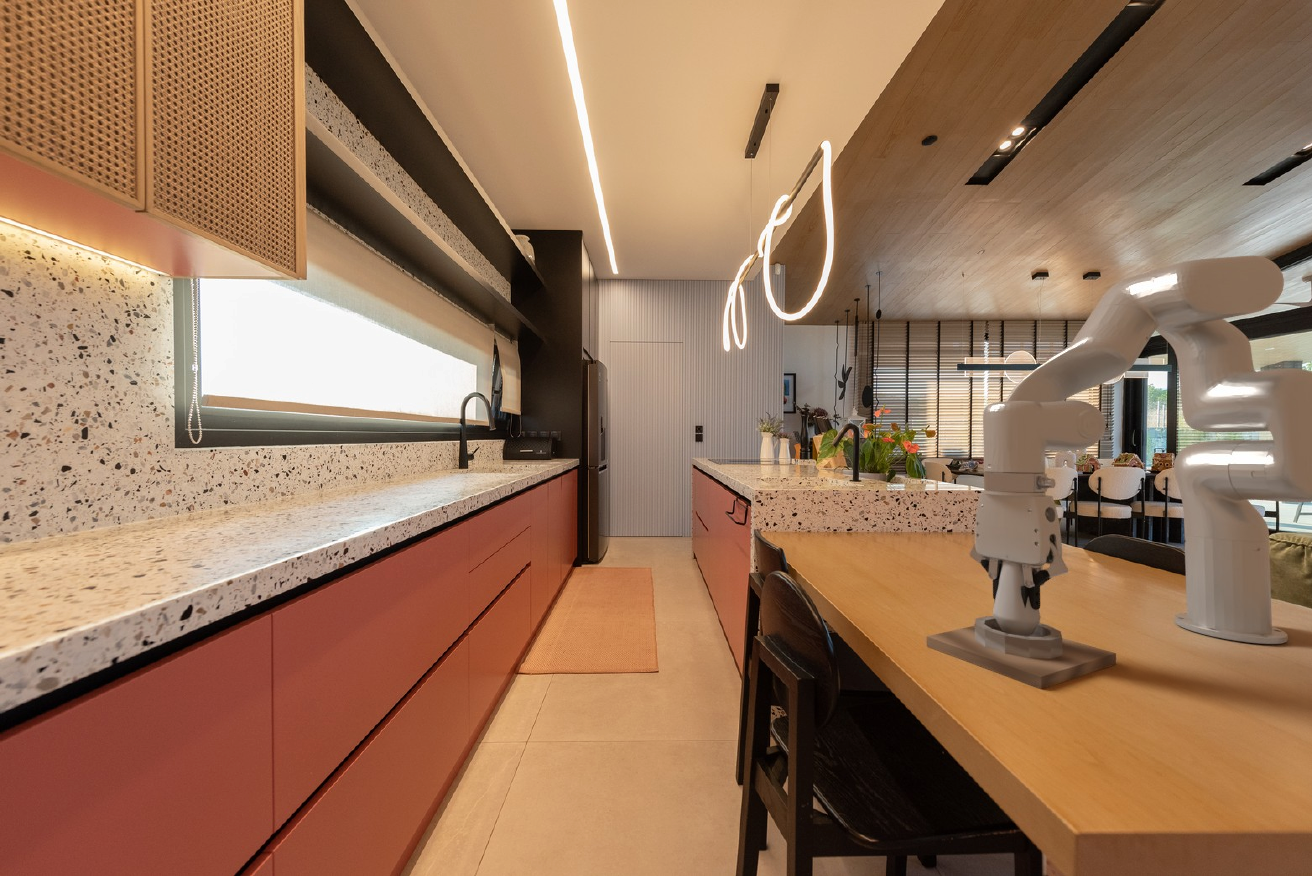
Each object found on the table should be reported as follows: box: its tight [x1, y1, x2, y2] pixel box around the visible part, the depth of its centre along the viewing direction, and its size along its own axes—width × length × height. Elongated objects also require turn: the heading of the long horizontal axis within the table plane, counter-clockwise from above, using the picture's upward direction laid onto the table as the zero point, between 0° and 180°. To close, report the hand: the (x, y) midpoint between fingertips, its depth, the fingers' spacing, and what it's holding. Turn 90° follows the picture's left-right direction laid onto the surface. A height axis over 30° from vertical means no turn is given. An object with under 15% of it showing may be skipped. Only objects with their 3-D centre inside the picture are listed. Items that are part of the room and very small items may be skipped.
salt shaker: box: [992, 552, 1042, 636], centre depth 77 cm, size 6×6×13 cm
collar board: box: [926, 615, 1117, 690], centre depth 76 cm, size 18×16×4 cm
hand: (1016, 608), depth 77 cm, fingers closed on salt shaker, 3 cm apart
